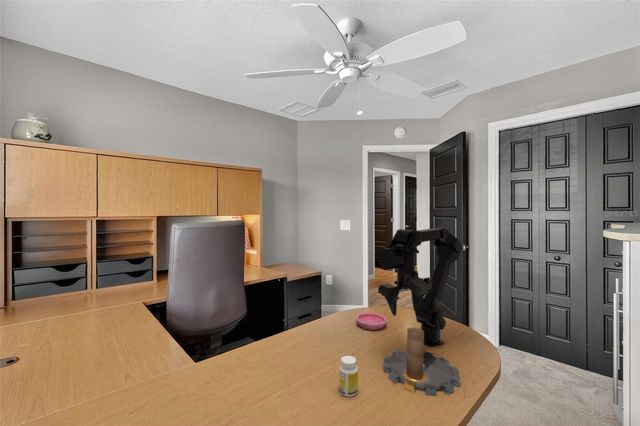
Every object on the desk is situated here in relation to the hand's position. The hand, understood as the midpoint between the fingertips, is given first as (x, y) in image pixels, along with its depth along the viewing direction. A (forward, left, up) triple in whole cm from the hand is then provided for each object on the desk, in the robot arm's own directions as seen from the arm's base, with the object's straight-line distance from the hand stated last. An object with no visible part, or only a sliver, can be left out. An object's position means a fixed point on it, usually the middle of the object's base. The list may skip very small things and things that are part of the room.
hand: (405, 313), depth 96 cm
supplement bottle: (+28, +10, -13) cm, 33 cm away
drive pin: (+9, +14, -11) cm, 20 cm away
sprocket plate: (+4, +11, -13) cm, 17 cm away
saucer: (-3, -23, -13) cm, 27 cm away
